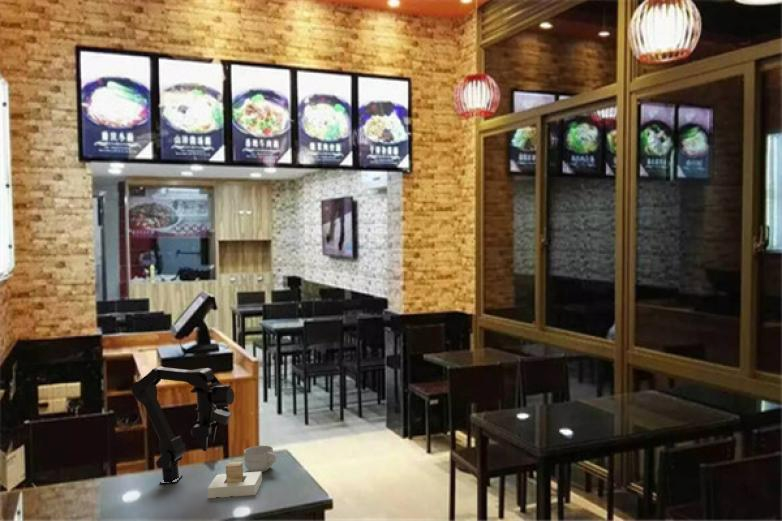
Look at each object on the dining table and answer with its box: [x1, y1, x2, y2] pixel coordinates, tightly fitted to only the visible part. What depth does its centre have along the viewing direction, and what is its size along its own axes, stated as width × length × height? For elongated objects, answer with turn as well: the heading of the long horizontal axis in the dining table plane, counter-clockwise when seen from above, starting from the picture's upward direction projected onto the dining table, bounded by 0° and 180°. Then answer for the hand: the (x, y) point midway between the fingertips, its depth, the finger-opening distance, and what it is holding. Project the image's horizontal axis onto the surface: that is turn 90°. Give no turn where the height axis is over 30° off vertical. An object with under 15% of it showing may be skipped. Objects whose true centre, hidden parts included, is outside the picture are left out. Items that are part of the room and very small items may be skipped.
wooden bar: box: [225, 461, 244, 483], centre depth 218 cm, size 4×5×9 cm
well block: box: [207, 471, 263, 499], centre depth 218 cm, size 12×16×4 cm
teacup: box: [243, 445, 277, 473], centre depth 234 cm, size 14×11×8 cm
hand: (208, 446), depth 226 cm, fingers open, 9 cm apart
